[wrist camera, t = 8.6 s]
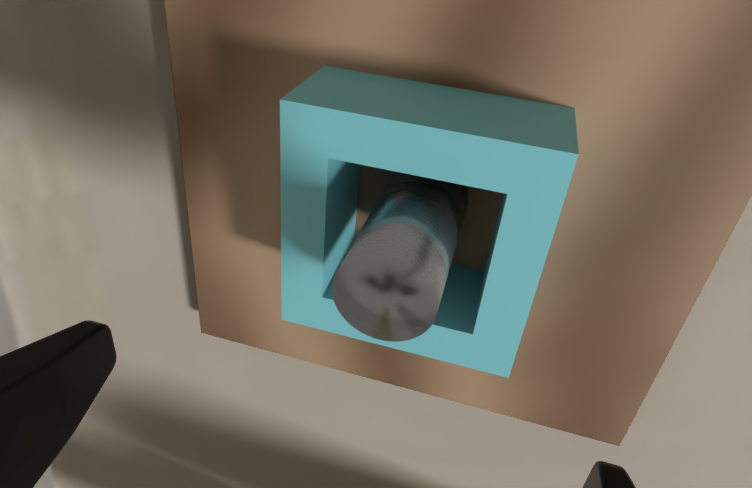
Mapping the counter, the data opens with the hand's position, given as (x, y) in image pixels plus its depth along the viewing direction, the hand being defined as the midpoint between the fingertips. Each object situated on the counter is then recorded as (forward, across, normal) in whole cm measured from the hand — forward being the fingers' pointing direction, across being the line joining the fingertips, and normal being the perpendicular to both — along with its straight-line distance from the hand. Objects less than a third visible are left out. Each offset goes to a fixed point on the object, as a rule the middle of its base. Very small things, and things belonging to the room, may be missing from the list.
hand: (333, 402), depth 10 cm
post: (+8, 0, 0) cm, 8 cm away
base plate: (+9, 0, 0) cm, 9 cm away
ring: (+8, 0, 0) cm, 8 cm away
